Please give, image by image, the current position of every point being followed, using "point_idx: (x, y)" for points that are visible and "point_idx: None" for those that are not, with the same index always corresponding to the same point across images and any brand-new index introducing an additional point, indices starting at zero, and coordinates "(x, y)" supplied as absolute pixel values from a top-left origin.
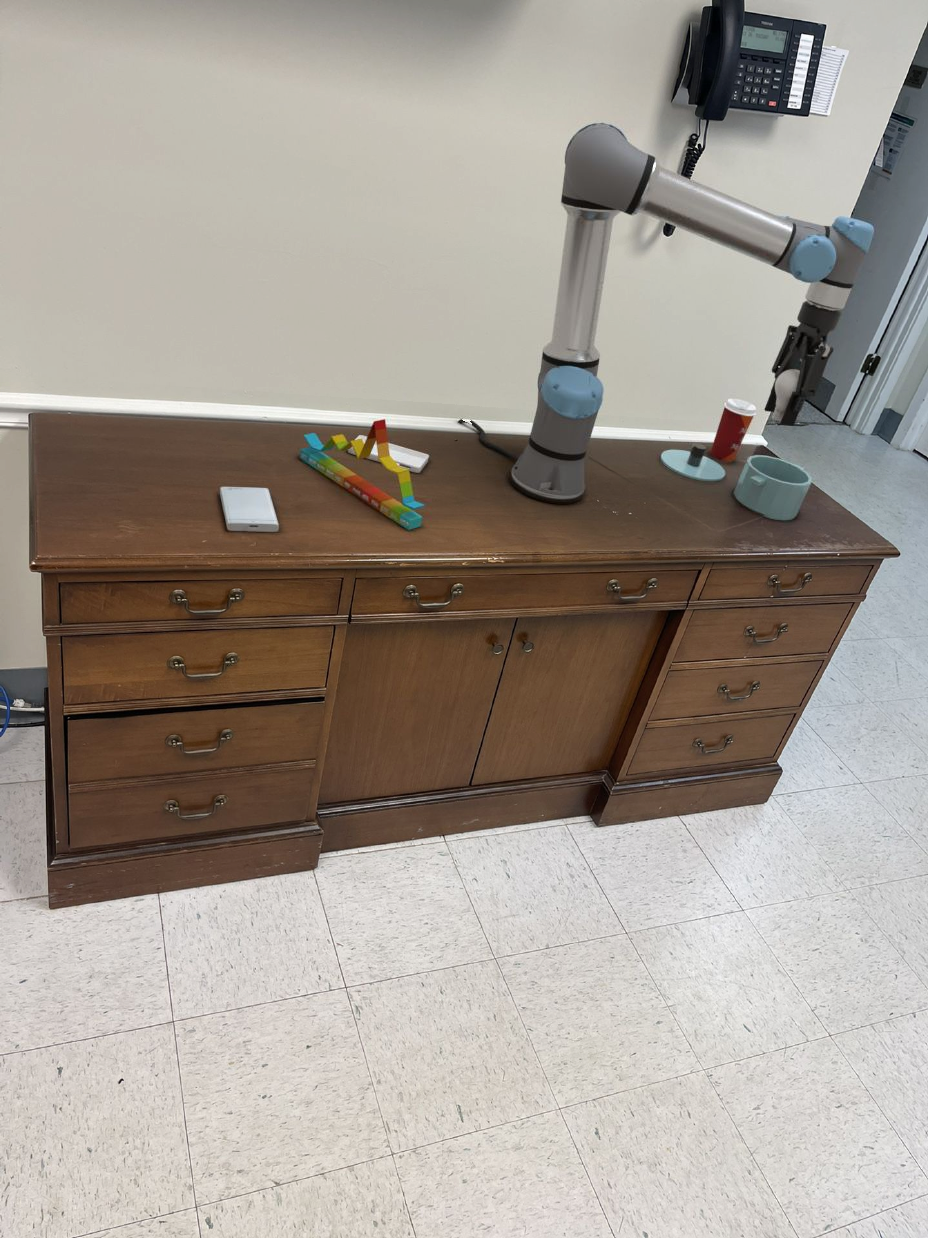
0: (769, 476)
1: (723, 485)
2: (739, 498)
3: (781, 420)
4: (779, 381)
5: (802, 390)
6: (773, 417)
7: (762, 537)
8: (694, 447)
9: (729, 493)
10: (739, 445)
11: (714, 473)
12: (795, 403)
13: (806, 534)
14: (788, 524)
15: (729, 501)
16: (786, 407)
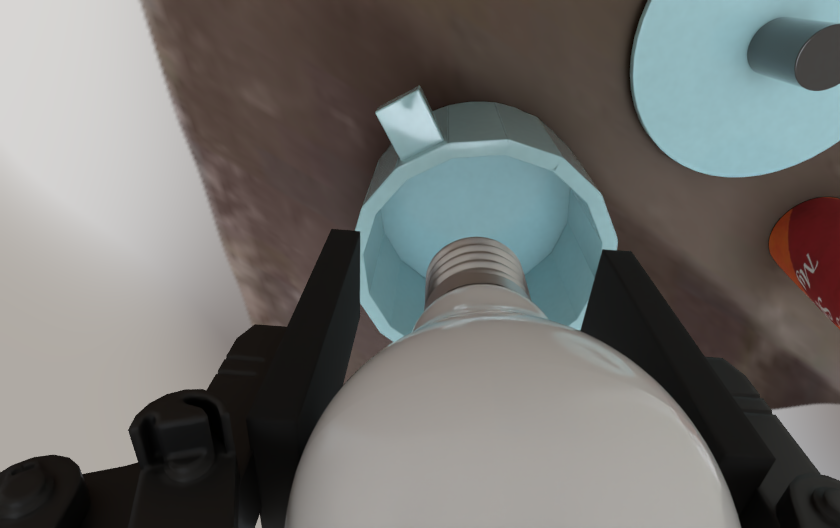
0: (562, 276)
1: (612, 120)
2: (478, 105)
3: (352, 242)
4: (524, 396)
5: (49, 508)
6: (474, 241)
7: (230, 53)
8: (829, 23)
9: (550, 109)
10: (807, 293)
11: (679, 108)
12: (247, 375)
13: (294, 238)
14: (348, 214)
15: (487, 70)
16: (331, 303)
